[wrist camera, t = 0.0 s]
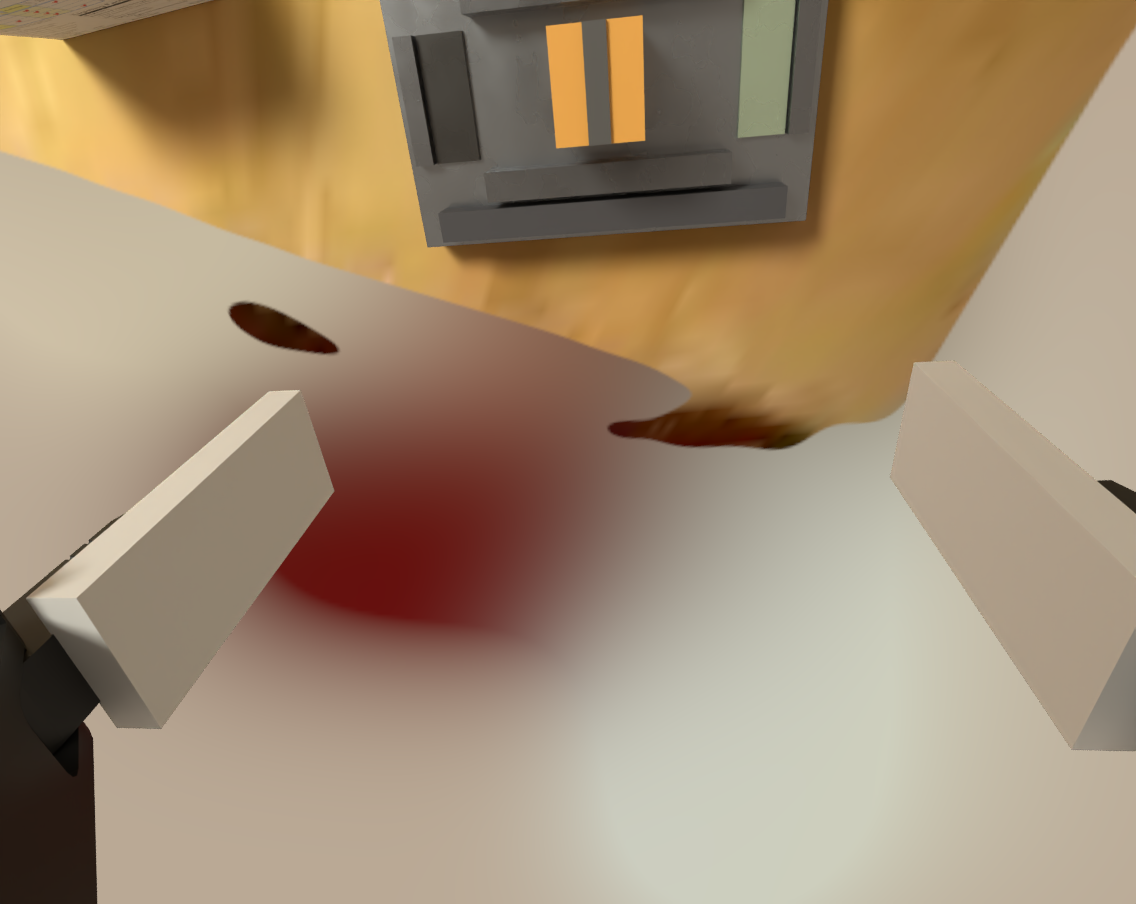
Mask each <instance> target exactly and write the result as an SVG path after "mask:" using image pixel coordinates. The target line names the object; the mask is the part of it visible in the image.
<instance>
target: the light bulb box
mask: <svg viewBox="0 0 1136 904" xmlns="http://www.w3.org/2000/svg"><path fill="white" fill-rule="evenodd" d="M208 1H212V0H0V35H10V36H24V37H37V38H48V39H59V40H63V39H68V38H72V37H76V36H80V35H83V34H87V33H91V32H95V31H98V30H102V29H106V28H110V27H113V26H117V25H120V24H124V23H128V22H132V21H136V20H140V19H144V18H148V17H151V16H155V15H159V14H162V13H166V12H170V11H174V10H177V9H181V8H185V7H189V6H192V5H196V4H200V3H204V2H208Z"/></svg>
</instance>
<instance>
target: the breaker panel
mask: <svg viewBox="0 0 1136 904" xmlns="http://www.w3.org/2000/svg"><path fill="white" fill-rule="evenodd" d="M380 4H381V9H382V14H383V19H384V24H385V30H386V35H387V40H388V45H389V50H390V55H391V61H392V66H393V71H394V76H395V81H396V86H397V92H398V97H399V102H400V107H401V112H402V117H403V123H404V128H405V133H406V138H407V143H408V148H409V154H410V159H411V164H412V169H413V174H414V179H415V185H416V190H417V195H418V200H419V205H420V211H421V216H422V221H423V226H424V231H425V236H426V242H427V247H440V246H454V245H468V244H482V243H496V242H510V241H524V240H538V239H552V238H566V237H580V236H594V235H608V234H622V233H636V232H650V231H664V230H678V229H692V228H706V227H720V226H734V225H748V224H762V223H776V222H790V221H804V220H806V214H807V204H808V194H809V184H810V175H811V165H812V155H813V145H814V136H815V126H816V116H817V106H818V97H819V87H820V77H821V67H822V58H823V48H824V38H825V28H826V18H827V9H828V0H380ZM640 15H643V59H644V108H645V141H635V142H624V143H612V144H605V145H594V146H578V147H567V148H556V140H555V128H554V116H553V105H552V93H551V81H550V70H549V58H548V46H547V35H546V26H550V25H559V24H568V23H577V22H582V21H591V20H600V19H613V18H622V17H631V16H640ZM778 182H782V183H784V184H785V185H787V186H788V192H787V203H786V215H785V218H782V219H768V220H754V221H740V222H726V223H712V224H699V225H685V226H671V227H657V228H643V229H629V230H615V231H601V232H587V233H573V234H560V235H546V236H532V237H518V238H504V239H490V240H476V241H462V242H448V243H443V238H442V232H441V227H440V221H439V216H438V213H440V212H441V211H443V210H444V209H447V208H460V207H473V206H485V205H498V204H511V203H524V202H536V201H549V200H562V199H574V198H587V197H600V196H613V195H625V194H638V193H651V192H664V191H676V190H689V189H702V188H715V187H727V186H740V185H753V184H765V183H778Z"/></svg>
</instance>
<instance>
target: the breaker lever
mask: <svg viewBox="0 0 1136 904" xmlns="http://www.w3.org/2000/svg"><path fill="white" fill-rule="evenodd" d="M546 35H547V46H548V58H549V70H550V81H551V93H552V105H553V116H554V128H555V140H556V148H567V147H578V146H594V145H605V144H612V143H624V142H635V141H645V108H644V59H643V15H640V16H631V17H622V18H613V19H600V20H591V21H582V22H577V23H568V24H559V25H550V26H546Z"/></svg>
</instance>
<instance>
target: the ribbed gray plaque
mask: <svg viewBox="0 0 1136 904" xmlns="http://www.w3.org/2000/svg"><path fill="white" fill-rule="evenodd" d="M787 192H788V186H787V185H785V184H784V183H782V182H778V183H765V184H753V185H740V186H727V187H715V188H702V189H689V190H676V191H664V192H651V193H638V194H625V195H613V196H600V197H587V198H574V199H562V200H549V201H536V202H524V203H511V204H498V205H485V206H473V207H460V208H447V209H444V210H443V211H441V212H440V213H438V216H439V221H440V227H441V232H442V238H443V243H448V242H462V241H476V240H490V239H504V238H518V237H532V236H546V235H560V234H573V233H587V232H601V231H615V230H629V229H643V228H657V227H671V226H685V225H699V224H712V223H726V222H740V221H754V220H768V219H782V218H785V215H786V203H787Z"/></svg>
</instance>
